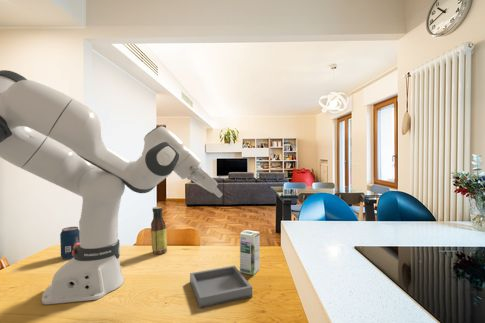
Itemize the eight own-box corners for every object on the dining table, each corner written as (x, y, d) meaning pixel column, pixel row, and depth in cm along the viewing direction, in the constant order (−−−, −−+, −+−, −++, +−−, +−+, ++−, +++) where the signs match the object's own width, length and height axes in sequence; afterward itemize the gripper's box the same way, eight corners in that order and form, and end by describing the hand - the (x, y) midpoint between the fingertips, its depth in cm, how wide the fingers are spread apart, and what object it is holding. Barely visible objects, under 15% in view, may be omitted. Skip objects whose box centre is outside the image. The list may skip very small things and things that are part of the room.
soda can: (64, 254, 111) (63, 227, 111) (82, 252, 114) (81, 225, 113) (58, 261, 105) (57, 231, 104) (77, 258, 107) (77, 230, 106)
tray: (200, 308, 73) (200, 298, 73) (190, 281, 88) (190, 273, 88) (252, 296, 79) (252, 287, 79) (234, 273, 94) (234, 265, 93)
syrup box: (239, 272, 94) (239, 233, 94) (246, 266, 100) (246, 228, 99) (253, 276, 92) (253, 235, 91) (260, 269, 97) (260, 231, 96)
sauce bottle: (169, 249, 116) (168, 206, 116) (163, 255, 110) (162, 209, 109) (155, 249, 117) (154, 205, 116) (148, 254, 111) (148, 208, 110)
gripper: (201, 160, 77) (232, 191, 81) (189, 158, 96) (215, 183, 100) (186, 176, 76) (219, 206, 80) (177, 171, 95) (204, 195, 99)
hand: (217, 193), depth 90 cm, fingers open, 8 cm apart
